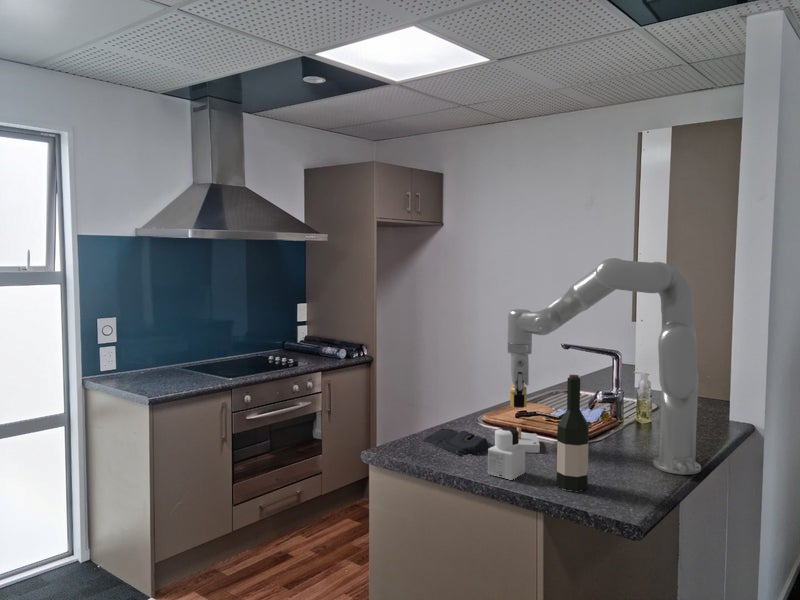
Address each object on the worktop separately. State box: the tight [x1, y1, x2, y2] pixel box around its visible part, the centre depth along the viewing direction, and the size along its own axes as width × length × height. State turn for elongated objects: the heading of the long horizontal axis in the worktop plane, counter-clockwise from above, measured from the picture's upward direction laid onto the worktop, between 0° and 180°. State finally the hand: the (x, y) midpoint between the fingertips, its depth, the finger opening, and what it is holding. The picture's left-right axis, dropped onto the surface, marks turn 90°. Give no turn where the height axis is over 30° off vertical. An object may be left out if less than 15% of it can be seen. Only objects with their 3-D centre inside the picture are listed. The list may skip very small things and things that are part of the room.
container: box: [487, 427, 526, 481], centre depth 175 cm, size 8×8×13 cm
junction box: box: [516, 426, 541, 454], centre depth 203 cm, size 18×12×6 cm, turn 173°
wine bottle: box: [556, 374, 590, 491], centre depth 165 cm, size 8×8×30 cm
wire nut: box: [509, 383, 528, 409], centre depth 199 cm, size 5×5×7 cm
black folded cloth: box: [422, 428, 495, 457], centre depth 202 cm, size 15×22×5 cm
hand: (518, 404), depth 199 cm, fingers closed on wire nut, 5 cm apart
